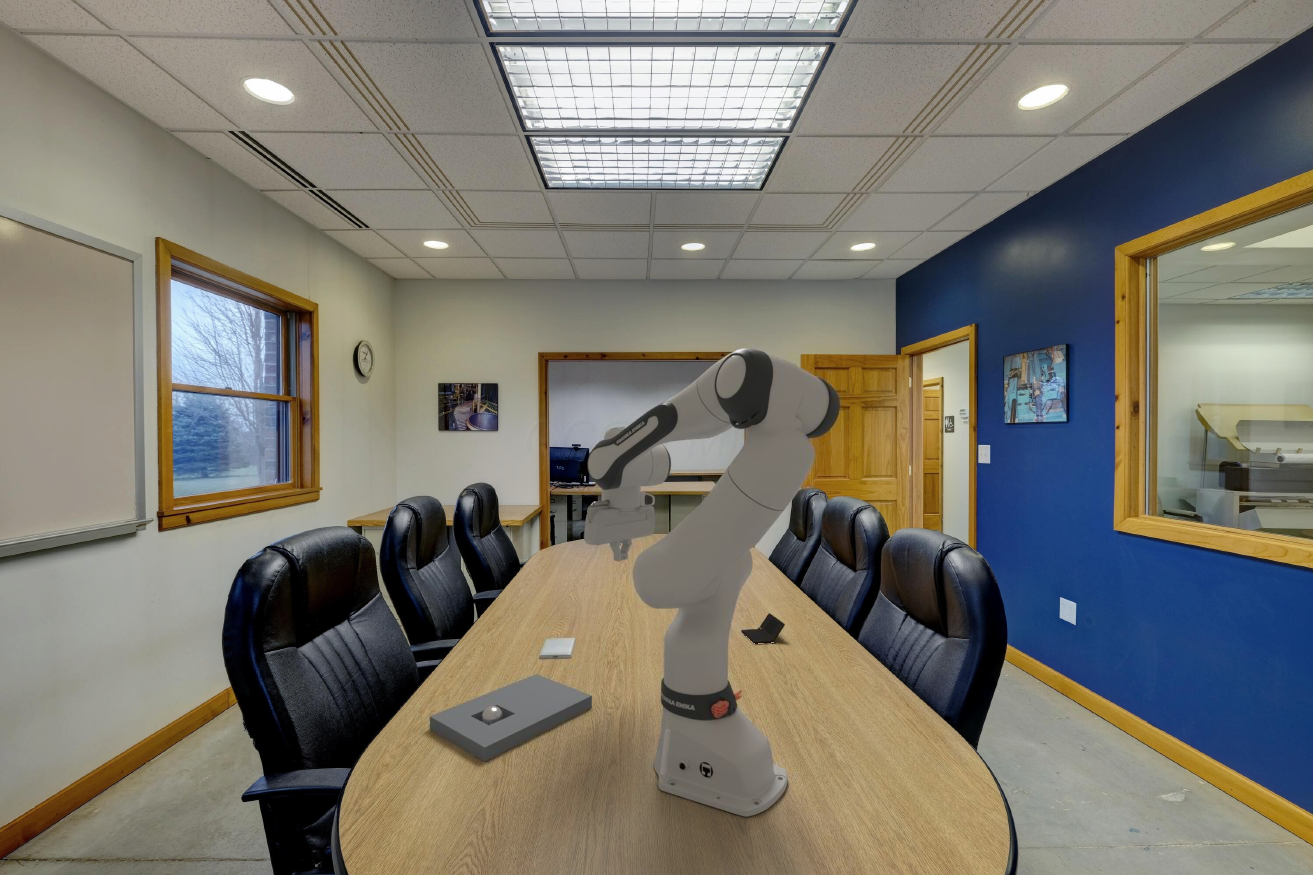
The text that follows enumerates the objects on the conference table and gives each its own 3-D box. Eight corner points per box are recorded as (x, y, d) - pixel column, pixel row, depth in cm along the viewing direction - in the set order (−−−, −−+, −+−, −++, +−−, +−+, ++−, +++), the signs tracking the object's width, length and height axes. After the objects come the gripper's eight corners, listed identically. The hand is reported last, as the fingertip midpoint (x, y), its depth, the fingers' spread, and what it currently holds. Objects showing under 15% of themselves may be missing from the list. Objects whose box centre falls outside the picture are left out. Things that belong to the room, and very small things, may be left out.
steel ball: (509, 708, 108) (492, 709, 105) (503, 731, 107) (486, 732, 104) (497, 703, 111) (480, 703, 108) (491, 725, 110) (474, 725, 107)
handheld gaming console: (735, 628, 164) (755, 600, 165) (750, 640, 166) (770, 612, 167) (754, 646, 153) (776, 617, 154) (771, 659, 155) (792, 630, 157)
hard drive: (546, 638, 156) (539, 654, 143) (575, 637, 156) (571, 653, 144) (546, 644, 156) (539, 661, 143) (575, 643, 156) (571, 660, 144)
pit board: (591, 707, 116) (592, 695, 116) (484, 762, 96) (484, 747, 96) (536, 684, 127) (536, 673, 127) (429, 729, 107) (429, 716, 107)
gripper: (598, 502, 115) (598, 569, 115) (659, 496, 131) (659, 555, 131) (577, 501, 119) (577, 565, 119) (639, 495, 135) (638, 552, 135)
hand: (620, 560), depth 125 cm, fingers closed
